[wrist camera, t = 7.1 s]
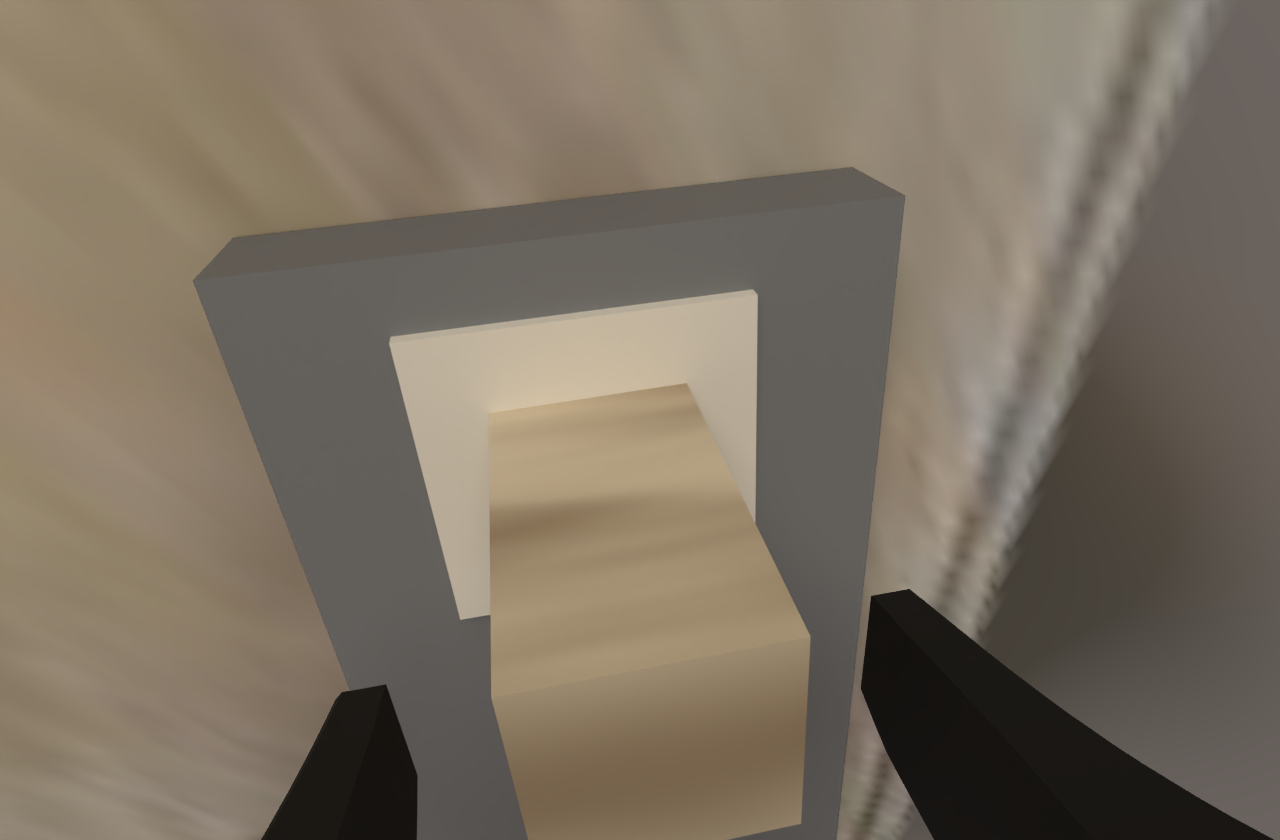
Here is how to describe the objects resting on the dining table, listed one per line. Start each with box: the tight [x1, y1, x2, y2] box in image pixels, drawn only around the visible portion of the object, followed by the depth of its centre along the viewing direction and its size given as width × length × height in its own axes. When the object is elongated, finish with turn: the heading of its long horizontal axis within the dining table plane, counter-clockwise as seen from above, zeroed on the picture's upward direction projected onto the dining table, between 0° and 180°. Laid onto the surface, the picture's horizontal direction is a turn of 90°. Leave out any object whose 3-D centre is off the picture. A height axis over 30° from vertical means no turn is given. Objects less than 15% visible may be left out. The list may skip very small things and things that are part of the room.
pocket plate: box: [193, 167, 905, 840], centre depth 21 cm, size 22×13×3 cm, turn 4°
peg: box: [489, 383, 811, 840], centre depth 14 cm, size 4×4×7 cm
